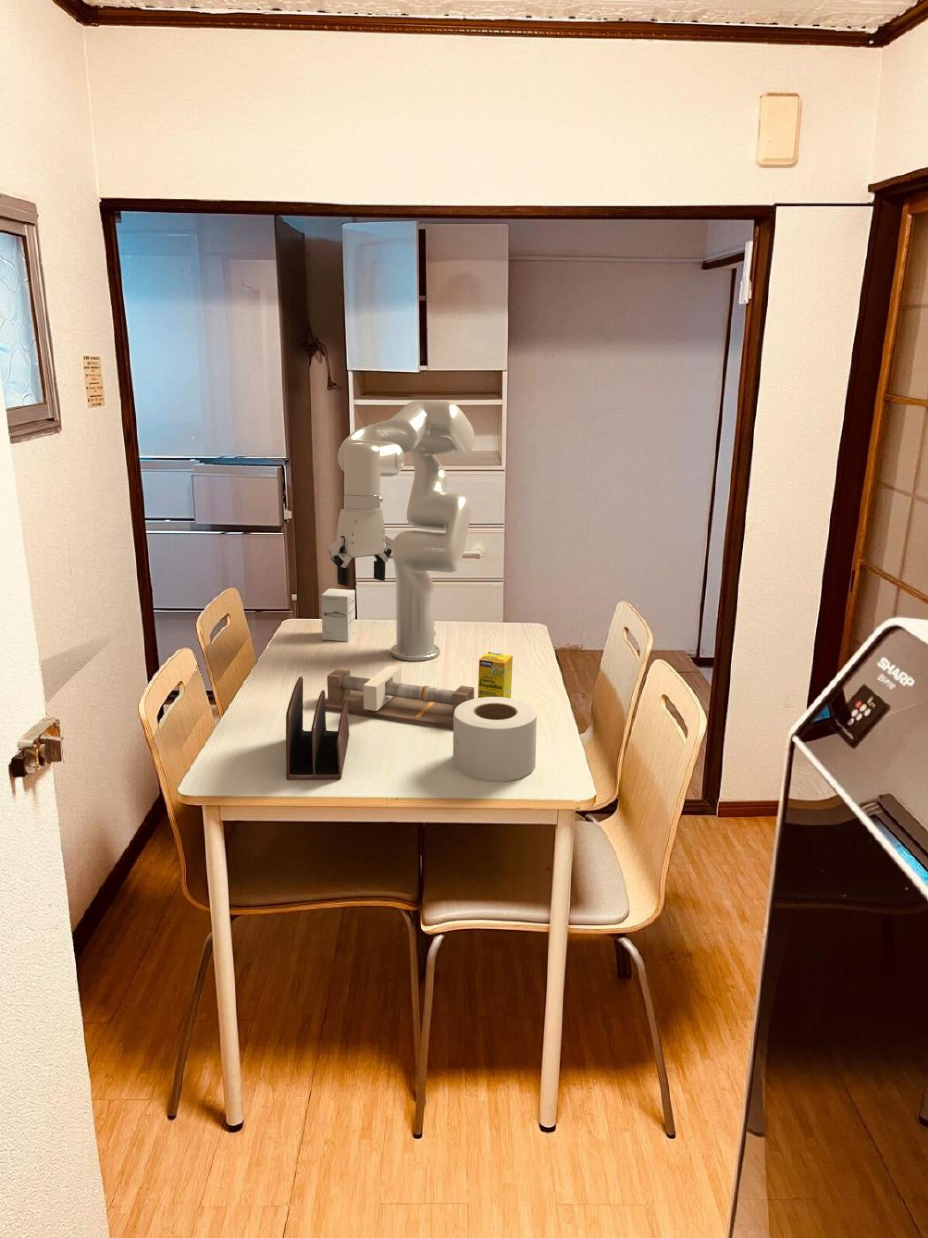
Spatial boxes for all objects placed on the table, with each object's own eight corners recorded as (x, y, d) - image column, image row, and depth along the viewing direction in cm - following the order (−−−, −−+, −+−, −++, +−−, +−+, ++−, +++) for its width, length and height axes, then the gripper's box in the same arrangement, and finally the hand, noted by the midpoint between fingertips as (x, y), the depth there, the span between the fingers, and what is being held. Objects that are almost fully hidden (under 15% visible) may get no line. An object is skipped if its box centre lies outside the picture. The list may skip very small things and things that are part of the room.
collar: (388, 688, 206) (388, 665, 204) (400, 690, 205) (400, 667, 203) (363, 709, 194) (363, 685, 192) (376, 711, 193) (376, 686, 191)
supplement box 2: (477, 706, 201) (478, 659, 198) (486, 697, 207) (487, 650, 204) (503, 710, 199) (504, 662, 196) (511, 700, 205) (513, 654, 202)
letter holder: (286, 781, 166) (282, 708, 162) (299, 736, 185) (297, 670, 181) (341, 781, 166) (339, 708, 162) (349, 736, 185) (348, 670, 181)
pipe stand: (345, 690, 209) (344, 663, 207) (478, 710, 199) (479, 681, 197) (320, 709, 198) (319, 680, 196) (460, 731, 188) (461, 701, 186)
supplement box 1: (321, 640, 244) (320, 594, 240) (330, 632, 251) (328, 587, 247) (348, 642, 243) (347, 596, 239) (356, 634, 250) (355, 589, 246)
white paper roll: (446, 778, 168) (447, 723, 165) (461, 743, 182) (462, 693, 179) (531, 786, 165) (533, 730, 162) (538, 750, 180) (541, 699, 177)
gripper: (382, 498, 202) (382, 575, 206) (317, 503, 190) (318, 584, 194) (405, 502, 197) (403, 580, 201) (339, 507, 185) (339, 590, 189)
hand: (361, 582), depth 198 cm, fingers open, 9 cm apart
